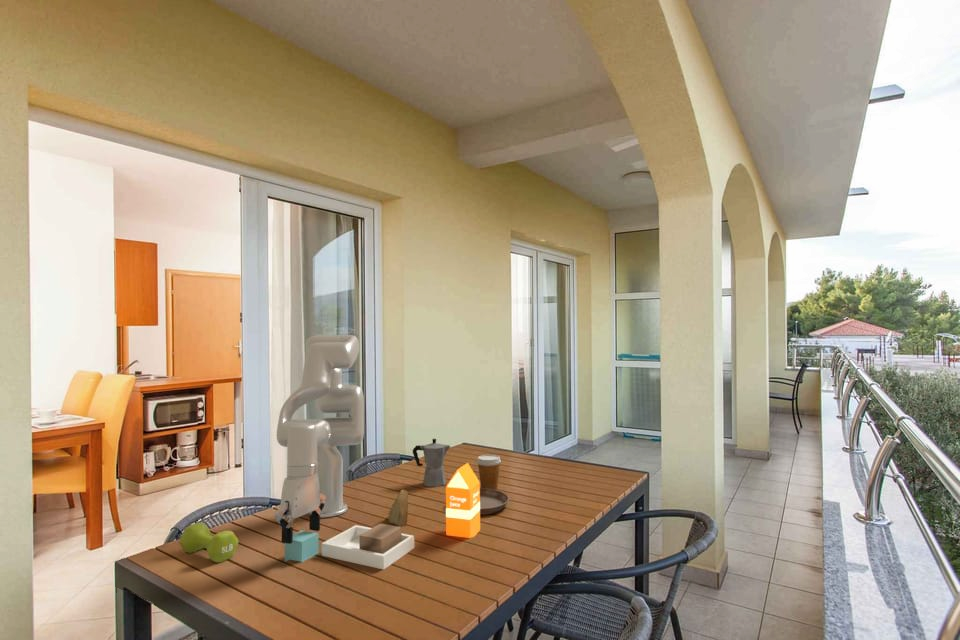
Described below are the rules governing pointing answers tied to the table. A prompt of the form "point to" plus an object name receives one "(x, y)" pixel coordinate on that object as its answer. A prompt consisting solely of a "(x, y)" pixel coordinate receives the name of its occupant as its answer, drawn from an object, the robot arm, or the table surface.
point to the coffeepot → (433, 463)
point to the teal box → (302, 546)
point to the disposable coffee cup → (489, 471)
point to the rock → (399, 509)
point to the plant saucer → (492, 501)
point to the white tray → (349, 550)
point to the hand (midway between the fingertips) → (301, 536)
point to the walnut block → (380, 538)
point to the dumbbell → (209, 542)
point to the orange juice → (463, 503)
